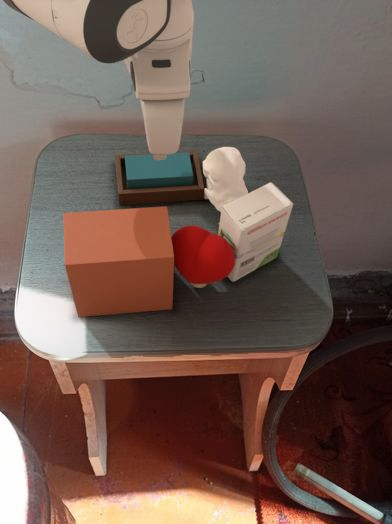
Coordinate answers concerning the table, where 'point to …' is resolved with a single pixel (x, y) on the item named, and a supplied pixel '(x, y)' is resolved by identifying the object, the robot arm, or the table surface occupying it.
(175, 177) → the teal rectangular block
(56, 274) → the table surface
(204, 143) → the table surface
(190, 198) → the brown rectangular tray
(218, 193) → the white irregular lump
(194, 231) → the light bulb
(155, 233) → the orange cardboard box
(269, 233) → the ink box
